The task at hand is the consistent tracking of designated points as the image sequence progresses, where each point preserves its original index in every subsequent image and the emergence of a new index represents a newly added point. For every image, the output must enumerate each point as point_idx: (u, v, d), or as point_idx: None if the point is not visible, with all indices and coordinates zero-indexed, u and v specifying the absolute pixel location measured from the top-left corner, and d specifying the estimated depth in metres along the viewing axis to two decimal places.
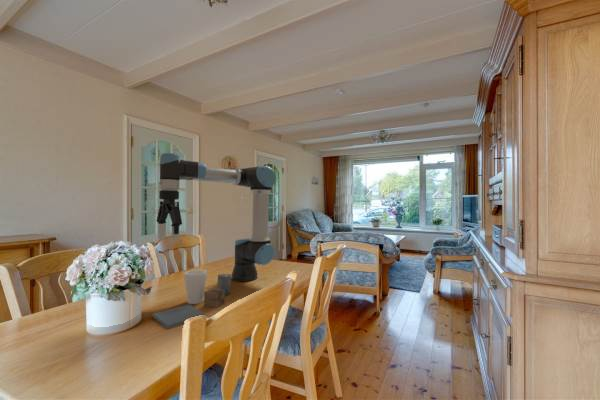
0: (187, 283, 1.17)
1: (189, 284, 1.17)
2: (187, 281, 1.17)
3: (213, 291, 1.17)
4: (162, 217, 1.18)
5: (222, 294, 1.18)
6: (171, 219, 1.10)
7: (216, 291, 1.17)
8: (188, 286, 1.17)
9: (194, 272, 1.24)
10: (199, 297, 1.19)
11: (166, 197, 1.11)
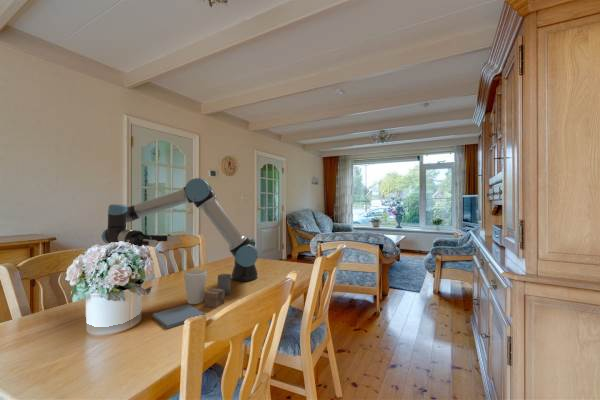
0: (187, 283, 1.17)
1: (189, 284, 1.17)
2: (187, 281, 1.17)
3: (213, 291, 1.17)
4: (160, 240, 1.30)
5: (222, 294, 1.18)
6: None
7: (216, 291, 1.17)
8: (188, 286, 1.17)
9: (194, 272, 1.24)
10: (199, 297, 1.19)
11: None
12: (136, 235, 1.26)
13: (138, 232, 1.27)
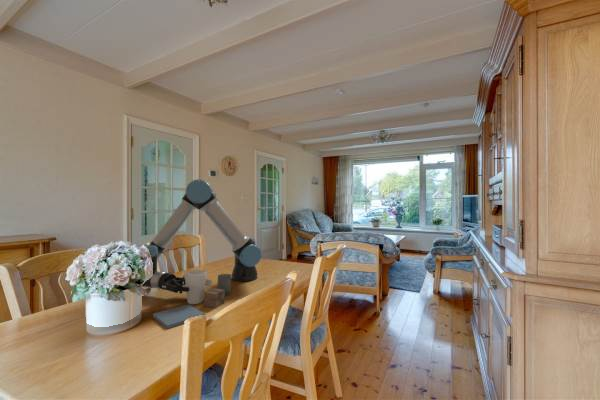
0: (187, 283, 1.17)
1: (189, 284, 1.17)
2: (187, 281, 1.17)
3: (213, 291, 1.17)
4: None
5: (222, 294, 1.18)
6: None
7: (216, 291, 1.17)
8: None
9: (194, 272, 1.24)
10: (199, 297, 1.19)
11: None
12: (169, 278, 1.25)
13: (170, 275, 1.26)
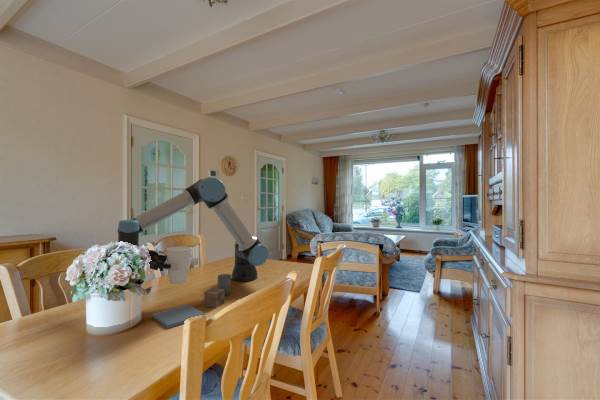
0: (169, 260, 1.03)
1: (171, 261, 1.02)
2: (169, 257, 1.03)
3: (213, 291, 1.17)
4: None
5: (222, 294, 1.18)
6: None
7: (216, 291, 1.17)
8: None
9: (178, 249, 1.10)
10: (183, 276, 1.04)
11: None
12: None
13: (152, 252, 1.11)
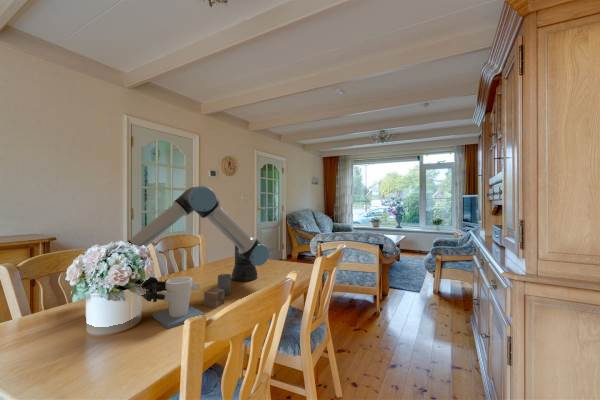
0: None
1: None
2: (169, 290, 1.01)
3: (213, 291, 1.17)
4: None
5: (222, 294, 1.18)
6: None
7: (216, 291, 1.17)
8: None
9: (178, 280, 1.08)
10: (183, 309, 1.03)
11: None
12: (149, 283, 1.08)
13: (151, 279, 1.09)
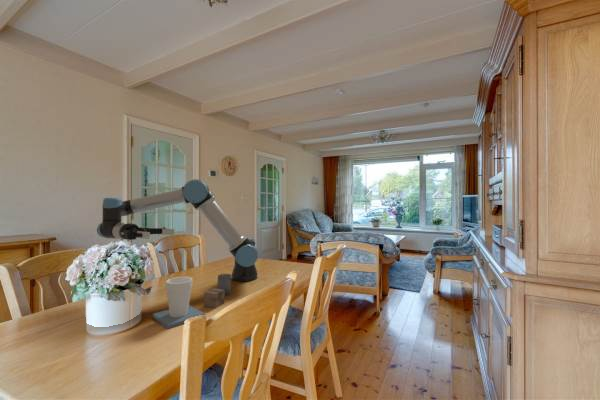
0: (169, 293, 1.01)
1: (171, 294, 1.01)
2: (169, 290, 1.01)
3: (213, 291, 1.17)
4: (154, 232, 1.29)
5: (222, 294, 1.18)
6: None
7: (216, 291, 1.17)
8: (170, 296, 1.01)
9: (178, 280, 1.08)
10: (183, 309, 1.03)
11: (125, 237, 1.24)
12: (131, 228, 1.25)
13: (133, 225, 1.26)
